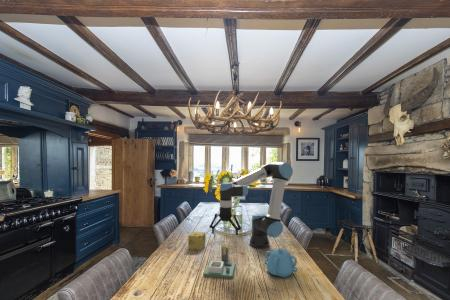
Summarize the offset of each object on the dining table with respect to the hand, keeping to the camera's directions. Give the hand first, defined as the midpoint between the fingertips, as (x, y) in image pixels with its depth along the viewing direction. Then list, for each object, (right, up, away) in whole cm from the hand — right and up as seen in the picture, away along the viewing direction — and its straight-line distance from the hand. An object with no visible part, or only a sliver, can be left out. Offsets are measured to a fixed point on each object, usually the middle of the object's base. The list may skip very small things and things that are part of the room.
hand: (224, 239), depth 158 cm
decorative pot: (+32, -14, -16) cm, 38 cm away
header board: (-3, -13, -13) cm, 19 cm away
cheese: (-21, -14, +23) cm, 34 cm away
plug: (0, -14, 0) cm, 14 cm away
